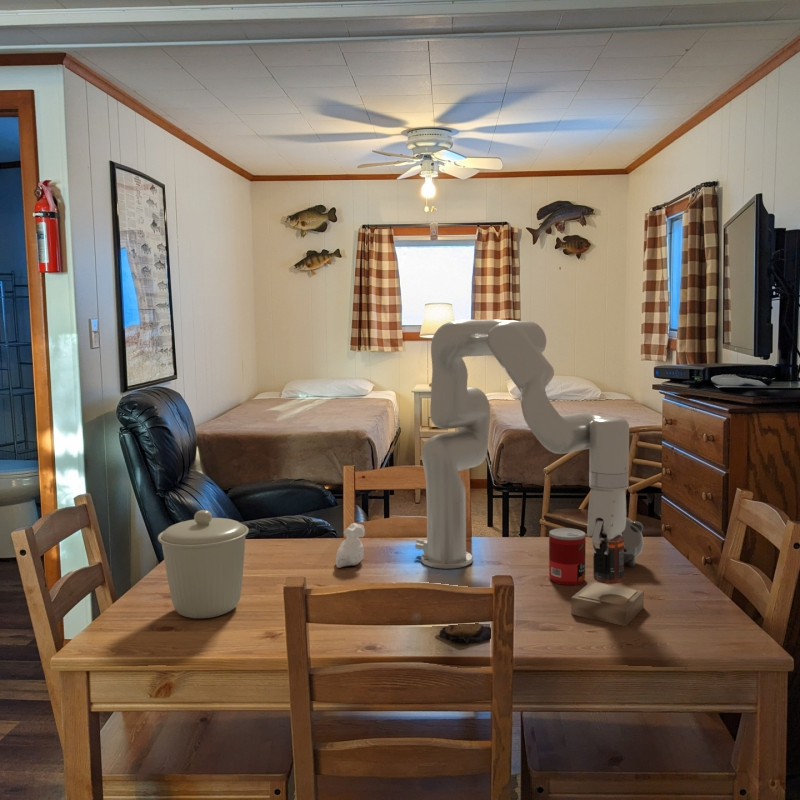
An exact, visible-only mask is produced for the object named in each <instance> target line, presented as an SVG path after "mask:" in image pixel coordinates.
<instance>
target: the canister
mask: <svg viewBox="0 0 800 800" xmlns="http://www.w3.org/2000/svg"><path fill="white" fill-rule="evenodd" d="M249 530H250V529H249V527H248V526H247V525H245V524H244V523H241V522H240V521H238V520H234V519H230V518H223V517H213V515H212V512H211V511H210V510H207V509H201V510H198V511H196V512H195V513H194V516H193V519H188V520H185V521H180V522H178V523H175V524H174V523H173V524H172V525H170V526H168V527H167V528H166V529H165V530H163V531H162V532H160V533H159V534H158V535H157V541H158V542H159V543H160V544H161V547H162V555H163V559H164V564H165V571H166V578H167V584H168V588H169V594H170V597H171V598H170V599H171V602H172V605H173V608H174V609H175V611H176V613H178V614H179V615H180V616H183V617H186V618H190V619H210V618H217V617H219V616H222V615H225V614H227V613H229V612H232V611H233V610H234V609H235V608H236V607H237V606H238V604H239V602H240V599H241V595H242V587H243V577H244V565H245V564H244V562H245V549H246V545H245V544H246V536H247V535H248V533H249Z"/></svg>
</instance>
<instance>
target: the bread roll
mask: <svg viewBox="0 0 800 800" xmlns="http://www.w3.org/2000/svg"><path fill="white" fill-rule="evenodd" d="M491 629H492V627H490V626H484V625H482V624H481V623H479V622H478V623H475V624H458V625H449V624H448V625H447V626H445V627H443V628H441V630H440V631H439V634H437V635H435V636H434V639H436V640H438V641H440V642H442V643H444V644H446V645H447V646H450V647H451V648H454V649H456V650H458V651H461V650H465V649H468V648H471V647H473V646H476V645H480V644H482V643H485V642H487V641H490V640H491Z"/></svg>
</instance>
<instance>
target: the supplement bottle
mask: <svg viewBox="0 0 800 800" xmlns="http://www.w3.org/2000/svg"><path fill="white" fill-rule="evenodd" d="M601 537H602V538H606V537H607V535H602V536H601ZM601 543H603V544H604V546H605V544H606V542H605V541H601ZM592 549H593V550H594V546H593V545H592ZM593 550H592V552H593ZM609 554H611V573H610V574H609V575H608V574H602V573H596V572H594V552H593V554H592V555H593V557H592V559H593V560H592V561H593V563H592V565H593V567H592V571H593V573H592V574H593V579H594V581H595V582H598V583H604V584H609V585H615V584H620V583H622V582H623V581H624V579H625V562H624V539H623V537H622V536H621V535H618V536H616V537H615V538H613V539H612V540H611V541H610V549H609Z"/></svg>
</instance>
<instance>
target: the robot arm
mask: <svg viewBox="0 0 800 800" xmlns="http://www.w3.org/2000/svg"><path fill="white" fill-rule="evenodd" d="M431 339H432V340H431V343H430V344H431V345H430V355H431V358H430V359H431V369H432V372H431V376H432V377H431V389H430V406H429V415H430V419H431V422H432V424H433V425H434V426H435V427H436V428H438V429H443V430H450V429H457V431H453V432H452V431H451V432H445V433H438V434H436V435H434V436H431V437H429V438H428V439H427V440H426V441H425V442H424V444H423V446H422V447H421V448H422V449H421V460H422V461H421V462H422V466H423V472H424V477H425V491H426V492H425V493H426V494H425V495H426V498H425V499H426V540H425V539H420V538H417V540H416V542H415V545H414V548H415V550H416V549H417V550H421V551H423V554H422V555H421V557H420V559H421V563H422V564H424V565H425V566H426V567H430V568H435V569H442V570H443V569H447V570H448V569H450V570H451V569H459V568H464V567H467V566H469V565H470V564H472V562H473V555H472V554H471V553H470V552H468V551H467V528H466V527H467V520H466V519H467V513H466V512H467V511H466V510H467V509H466V507H467V505H466V487H465V484H464V482H463V480H462V478H461V476H460V473H459V472H460V471H464V470H468V469H469V470H470V469H471V468H475V467H478V466H480V465H481V464H483V462H484V461H485V460H486V458H487V454H488V450H489V449H488V448H489V439H490V438H489V435H490V423H491V421H490V420H491V406H490V402H489V400H488V399H489V398H488V397H487V395H486V394H485V392H483V391H482V390H481V389H480V388H478V387H472V386H471V387H470V386H468V380H469V379H468V378H469V377H468V376H469V373H468V368H467V366H466V362H465V360H464V358H465V357H484V356H486V357H487V356H493V357H494V358H495V359H496V360H497V362H498V363H499V365H500V366H501V368H502V369H503V370H504V371H505V373H506V374H507V375H508V376H509V377H510V379H511V381H512V382H513V384H514V385H515V386H516V388H517V389H518V391H519V392H520V405H521V412H522V416H523V419H524V421H525V423H526V425H527V426H528V428H529V429H530V431H531V432H532V434H533V435H534V437H535V438H536V439H537V440H538V441H539V443H540V444H541V445H542V446H543V447H544V448H545V449H546V450H548V451H549V452H551V453H553V454H555V455H556V454H557V455H563V454H570V453H573V452H579V451H585V450H589V453H588V454H589V458H588V459H589V461H588V462H589V463H588V464H589V465H588V467H589V473H588V476H589V483H588V485H589V488H590V493H589V498H588V512H587V524H586V525H587V527H586V528H587V529H586V532H587V536H588V538H591V543H592V547H593V546H594V550H592V552H594V572H596V573H602V574H608V575H609V574H610V573H611V554H609V549H610V541H611V540H612V539H613V538H615V537H616V536H618V535H621V536H622V534H623V531H624V530H625V527H626V517H627V497H626V490H628V489H629V478H630V476H629V475H630V473H629V471H630V470H629V467H630V465H629V464H630V462H629V461H630V425H629V422H628V420H627V419H625V418H622V417H617V416H601V415H597V414H593V413H589V412H579V413H570V414H566V415H565V414H564V415H561V414H560V413H559V412H558V411H557V410H556V408H555V407H554V406H553V404H552V403H551V401H550V399H549V397H548V395H547V391H546V387H547V386H548V385H549V384H550V383H551V381H552V380H553V378H554V375H555V369H554V367H553V365H551V363H550V361H549V360H548V359H547V358H546V357H545V356H544V354H543V353H544V351H545V350H546V346H547V335H546V333H545V331H544V329H543V328H542V327H541V326H540V325H539V324H538V323H535V322H534V321H530V320H506V319H505V320H504V319H459V320H452V321H448V322H446V323H444V324H442V325H441V326H439V328H438V329H436V331H435V332H434V334H433V337H432V338H431ZM602 535H607V537H606V538H602V537H601V536H602ZM601 541H605V542H606V544H605V546H604V544H603V543H601Z"/></svg>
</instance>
